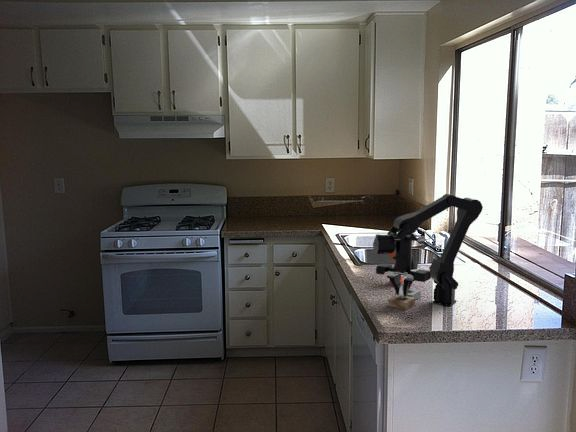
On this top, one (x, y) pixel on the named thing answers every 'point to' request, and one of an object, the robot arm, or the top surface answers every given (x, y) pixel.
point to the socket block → (401, 302)
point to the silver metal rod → (401, 292)
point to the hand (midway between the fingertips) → (401, 295)
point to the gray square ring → (413, 293)
